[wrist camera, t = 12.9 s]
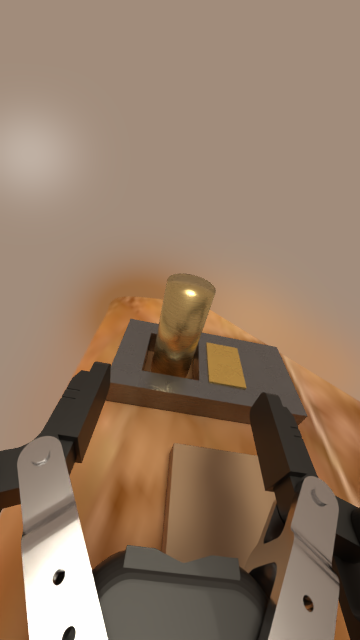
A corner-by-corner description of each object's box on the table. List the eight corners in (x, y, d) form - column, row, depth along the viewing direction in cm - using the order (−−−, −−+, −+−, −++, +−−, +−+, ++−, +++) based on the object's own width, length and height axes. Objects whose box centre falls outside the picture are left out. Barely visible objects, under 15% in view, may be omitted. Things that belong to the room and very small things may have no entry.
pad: (256, 466, 20) (265, 457, 19) (286, 614, 13) (304, 614, 12) (169, 453, 19) (173, 442, 18) (157, 602, 13) (162, 600, 11)
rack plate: (267, 362, 31) (277, 346, 30) (292, 431, 23) (308, 415, 21) (129, 336, 30) (130, 317, 28) (105, 400, 22) (105, 380, 20)
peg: (186, 362, 28) (213, 279, 21) (185, 391, 25) (217, 302, 18) (153, 356, 28) (169, 269, 21) (147, 384, 24) (164, 291, 17)
